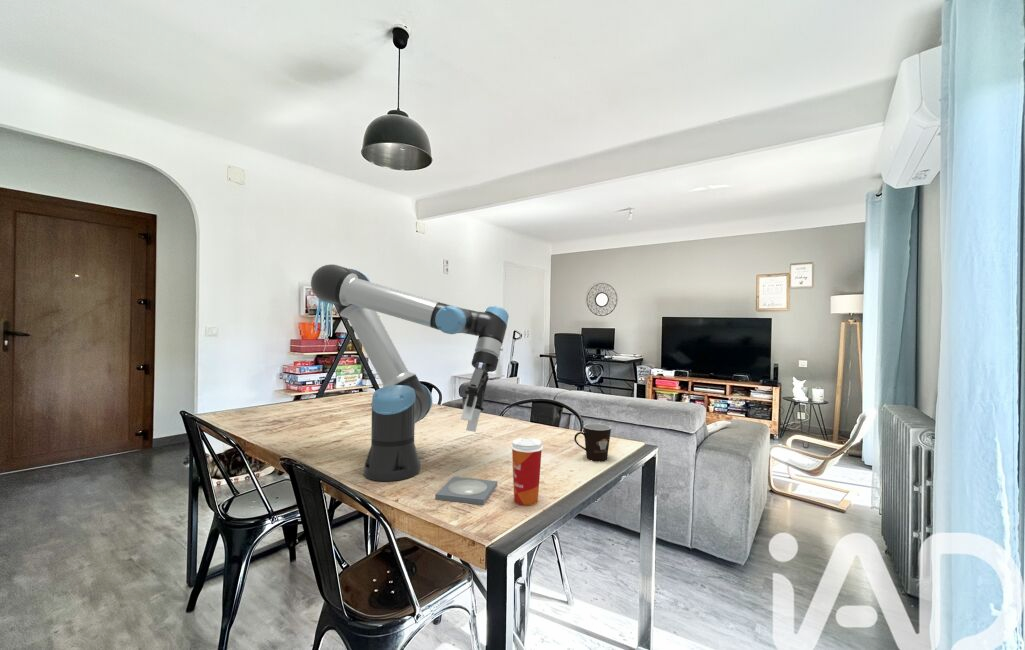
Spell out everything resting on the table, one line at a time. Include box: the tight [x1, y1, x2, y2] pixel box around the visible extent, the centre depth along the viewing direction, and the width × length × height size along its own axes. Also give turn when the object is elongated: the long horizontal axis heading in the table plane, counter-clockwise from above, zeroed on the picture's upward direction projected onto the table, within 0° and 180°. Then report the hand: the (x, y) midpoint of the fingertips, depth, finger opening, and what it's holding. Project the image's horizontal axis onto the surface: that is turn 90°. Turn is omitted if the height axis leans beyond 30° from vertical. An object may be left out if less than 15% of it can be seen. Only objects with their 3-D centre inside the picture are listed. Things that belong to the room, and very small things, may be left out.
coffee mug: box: [573, 423, 612, 462], centre depth 132 cm, size 12×9×10 cm
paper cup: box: [510, 437, 544, 506], centre depth 99 cm, size 8×8×14 cm
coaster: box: [434, 476, 498, 506], centre depth 103 cm, size 12×12×1 cm
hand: (468, 425), depth 114 cm, fingers open, 13 cm apart
